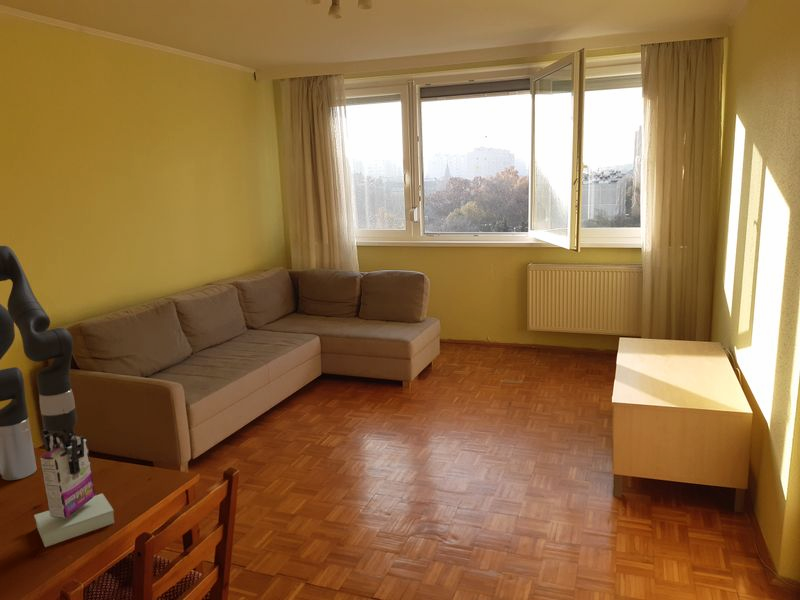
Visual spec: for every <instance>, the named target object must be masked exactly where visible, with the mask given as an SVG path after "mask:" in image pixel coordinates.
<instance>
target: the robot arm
mask: <svg viewBox="0 0 800 600" xmlns="http://www.w3.org/2000/svg"><path fill="white" fill-rule="evenodd" d="M27 278H28V277H27V276H26V273H25V271H24V269H23V267H22V264H21V263H20V260H19V258H18V257H17V255H16V253H15V252H14V250H12V248H11V247H9V246H7V245H0V282H3V281H4V282H5V281H8V280H10V281H11V282H12V286H11V291H10V294H9V296H8V300H7V305H6V306H7V308H6V307H5V306H4V305H2V304H1V303H0V361H1V360H2V358H3V357H5V355H6V353H7V352H8V351H9V349H11V347H12V345H13V343H14V341H15V336H16V334H15V333H16V332H15V325H16V327H17V328H18V331H19V333H20V337H21V341H22V346H23V347H22V348H23V352H24V353H23V354H24V355H25V357H26V358H28V360H30V361H32V362H35V363H39V362H44V361H48V360H52V359H53V361H52V363H51V364H49V365H48V366H46V367H44V368H42V369H40V370H39V371H38V372H37V374H36V382H37V387H38V393H39V409H40V415H41V421H42V428H43V429H41V436H42V440H43V443H44V444H43V445H44V448H45V451H46V453H48V452H50V451H52V450H53V449H55V448H57V447H61V449H62V451H63V452H64V453H66V454H67V458H68V460H69V461H68V462H69V469H70V474H72V475H74V474H77V473H79V472H80V467H79V459H80V458H82V457H84V439H85V438H84V436H83V435H76V432H75V430H74V427H75V426H76V425H77V423H78V416H77V408H76V404H75V403H76V402H75V397H74V393H73V390H72V382H71V376H70V375H71V374H70V371H71V363H72V362H71V361H72V355H73V351H74V340H73V339H74V338H73V336H72V334H71V332H70V331H69V330H67V329H65V328H63V327H56V328H51V329H49V327H50V326H51V325H50V324H51V320H50V317H49V315H48V314H47V312H46V311H45V309H44V308H43V307H42V305H41V304H40V302H39V301H38V299H37V297H36V296H35V294H34V292H33V290H32V287H31V285H30V283H29V281H28V279H27ZM25 390H26V389H25V380H24V376H23V373H22V371H21V369H20V368H19V367H16V366H15V367H8V368H3V369H0V402H3V401H4V402H5V401H9V400H10V402H9V403H7V404H6V405H5V406H4V407H2V408H0V475H1V479H2V480H4V481H15V480H21V479H25V478H27V477H29V476H31V475H34V473H36V471H37V463H36V455H35V450H34V444H33V437H32V432H31V424H30V418H29V413H28V407H27V400H26V391H25ZM71 445H72V448H70V449H67V447H69V446H71ZM70 451H72V456H71V453H70ZM78 451H79V452H78Z"/></svg>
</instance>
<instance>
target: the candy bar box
mask: <svg viewBox="0 0 800 600" xmlns="http://www.w3.org/2000/svg"><path fill="white" fill-rule="evenodd" d="M70 448H72V445H71V446H69V447H67V449H70ZM78 452H79V451H78ZM70 453H71V456H72V451H70ZM39 461H40V466H41V470H42V471H41V472H42V477H43V483H44V487H45V493H46V498H47V504H48V505H47V506H48V510H49V511H50V516H51V517H58V518H67V517H68V516H70V515H71V514H72V513H74V512H75V511H76V510H78V509H79V508H80V507H81V506H83V505H84V504H85V503H87V502H88V501H89V500H90V499H92V498H93V497H94V496H96V492H95V485H94V480H93V473H92V467H91V461H90V454H89V448H88V442H87V439H85V438H84V457H82V458H80V459H79V467H80V472H79V473H77V474H74V475H72V474H70V469H69V462H68V461H69V460H68V458H67V454H66V453H64V452H63V451H62V449H61V447H57V448H55V449H53V450H52V451H49V452H46V453H45V454H44V455H42V456H40V457H39Z"/></svg>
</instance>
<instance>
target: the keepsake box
mask: <svg viewBox="0 0 800 600" xmlns="http://www.w3.org/2000/svg"><path fill="white" fill-rule="evenodd" d="M114 510H115V509H113V507H112V505H111V504H110V502H109V500H108V499H107V498H106V496H105V495H104V493H99V494H95V496H94V497H93V498H92V499H90V500H89V501H88V502H87V503H85V504H84V505H83V506H81V507H80V508H79V509H78V510H76V511H75V512H74V513H72V514H71V515H70V516H68V517H67V518H58V517H51V516H50V511H49V509H48V510H46V511H43V512H40V513H36V514H34V515H33V516H34V520H35V523H36V528H37V531H38V533H39V535H40V538H41V540H42V544H43V545H44V547H45V548H47V547H50V546H53V545H56V544H58V543H61V542H64V541H67V540H70V539H73V538H76V537H78V536H81V535H84V534H87V533H89V532H92V531H96V530H99V529H101V528H104V527H107V526H109V525H113V524H115V518H114V517H115V516H114V513H115V511H114Z"/></svg>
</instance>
